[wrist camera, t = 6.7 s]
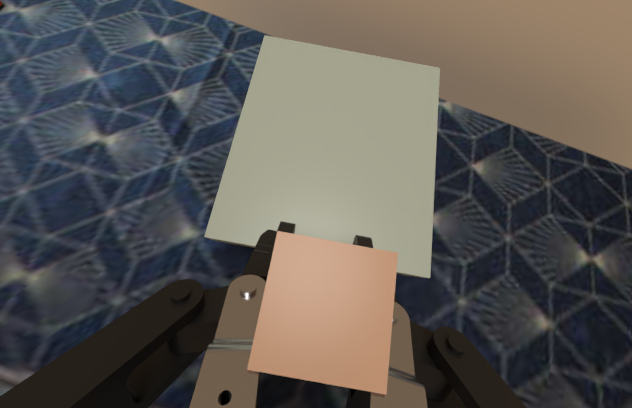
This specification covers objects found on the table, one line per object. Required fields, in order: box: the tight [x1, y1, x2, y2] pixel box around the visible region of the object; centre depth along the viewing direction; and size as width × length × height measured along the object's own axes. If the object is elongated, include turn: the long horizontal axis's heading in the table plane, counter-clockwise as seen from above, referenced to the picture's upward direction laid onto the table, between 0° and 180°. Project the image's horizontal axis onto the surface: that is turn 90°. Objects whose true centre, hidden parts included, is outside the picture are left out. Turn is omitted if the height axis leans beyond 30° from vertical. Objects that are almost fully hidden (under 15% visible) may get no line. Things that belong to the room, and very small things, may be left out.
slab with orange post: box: [204, 36, 440, 395], centre depth 13 cm, size 19×14×11 cm
